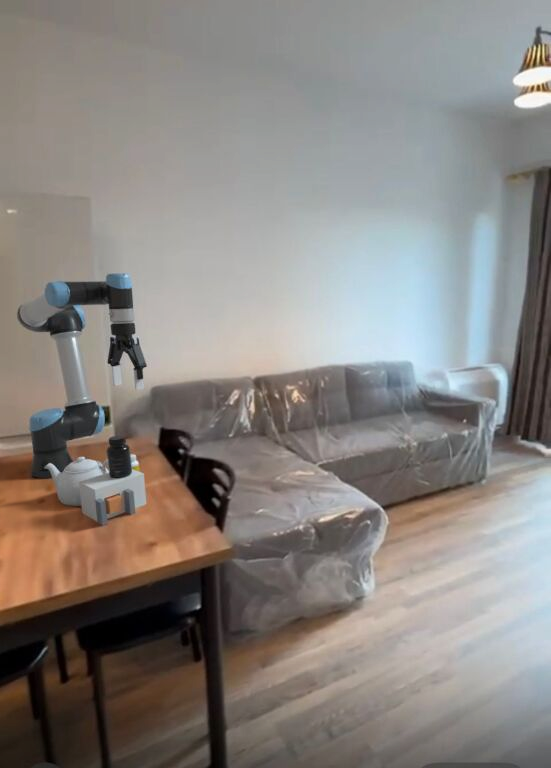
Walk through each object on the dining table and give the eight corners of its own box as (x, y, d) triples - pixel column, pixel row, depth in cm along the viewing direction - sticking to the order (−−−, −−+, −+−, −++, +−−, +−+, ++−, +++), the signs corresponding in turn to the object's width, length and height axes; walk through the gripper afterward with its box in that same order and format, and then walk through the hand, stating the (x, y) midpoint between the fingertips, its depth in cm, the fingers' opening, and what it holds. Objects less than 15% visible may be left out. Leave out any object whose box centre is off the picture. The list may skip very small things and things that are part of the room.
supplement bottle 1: (112, 471, 153) (108, 434, 151) (134, 470, 153) (130, 433, 151) (106, 479, 146) (102, 441, 144) (129, 478, 147) (126, 439, 144)
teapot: (72, 514, 146) (67, 471, 144) (46, 498, 159) (41, 459, 156) (127, 494, 160) (124, 455, 157) (100, 481, 172) (96, 444, 170)
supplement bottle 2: (142, 479, 172) (140, 453, 171) (136, 485, 167) (134, 458, 165) (128, 479, 173) (125, 453, 171) (121, 485, 168) (119, 458, 166)
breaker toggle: (97, 507, 146) (96, 494, 145) (110, 502, 149) (108, 490, 148) (110, 514, 141) (109, 501, 140) (122, 509, 144) (121, 496, 143)
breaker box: (81, 513, 147) (78, 481, 145) (129, 496, 158) (126, 466, 157) (102, 525, 138) (99, 492, 136) (151, 506, 150) (149, 475, 148)
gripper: (93, 322, 162) (99, 385, 166) (132, 323, 145) (138, 393, 149) (113, 321, 167) (119, 381, 171) (154, 322, 150) (159, 389, 154)
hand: (128, 387), depth 160 cm, fingers open, 13 cm apart
